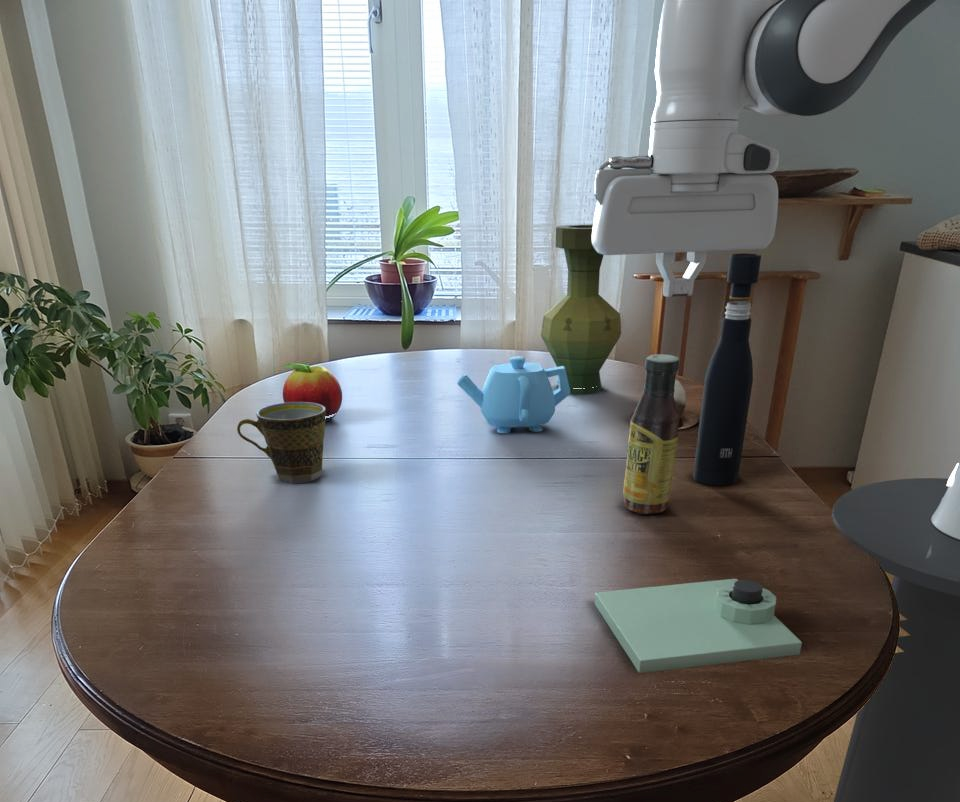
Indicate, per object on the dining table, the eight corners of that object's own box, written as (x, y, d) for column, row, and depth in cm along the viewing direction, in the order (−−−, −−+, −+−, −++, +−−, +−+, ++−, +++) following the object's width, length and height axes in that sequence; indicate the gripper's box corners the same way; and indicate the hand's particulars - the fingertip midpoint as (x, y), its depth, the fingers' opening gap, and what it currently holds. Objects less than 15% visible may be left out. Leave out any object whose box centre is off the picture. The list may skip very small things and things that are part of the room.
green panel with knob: (737, 589, 89) (741, 564, 88) (803, 654, 77) (809, 627, 76) (594, 604, 87) (595, 578, 85) (639, 673, 75) (641, 645, 74)
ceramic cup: (327, 462, 130) (319, 399, 125) (338, 482, 121) (330, 415, 116) (243, 472, 126) (232, 407, 121) (249, 493, 118) (237, 425, 113)
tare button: (752, 592, 83) (754, 578, 82) (765, 604, 81) (768, 590, 80) (726, 594, 83) (728, 580, 82) (738, 607, 80) (741, 593, 79)
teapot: (559, 411, 154) (561, 345, 148) (579, 436, 139) (582, 365, 133) (453, 416, 152) (451, 350, 146) (463, 442, 137) (461, 370, 131)
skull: (621, 405, 152) (662, 363, 148) (659, 442, 155) (700, 402, 151) (627, 421, 141) (672, 375, 137) (668, 460, 144) (712, 417, 140)
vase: (583, 375, 178) (590, 222, 163) (634, 389, 167) (647, 226, 152) (523, 387, 170) (525, 226, 155) (573, 402, 159) (580, 231, 144)
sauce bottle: (614, 503, 112) (624, 353, 102) (654, 497, 114) (668, 349, 104) (637, 520, 107) (650, 364, 97) (679, 513, 109) (696, 359, 98)
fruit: (322, 430, 145) (315, 372, 140) (273, 423, 149) (265, 367, 144) (355, 415, 154) (350, 360, 149) (308, 409, 158) (302, 356, 153)
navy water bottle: (711, 468, 124) (740, 251, 109) (746, 479, 119) (782, 254, 104) (683, 477, 121) (709, 254, 105) (718, 489, 116) (751, 258, 101)
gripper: (606, 156, 81) (598, 304, 88) (794, 152, 85) (772, 295, 92) (587, 157, 87) (581, 296, 94) (764, 153, 90) (746, 288, 97)
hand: (677, 296), depth 93 cm, fingers closed
